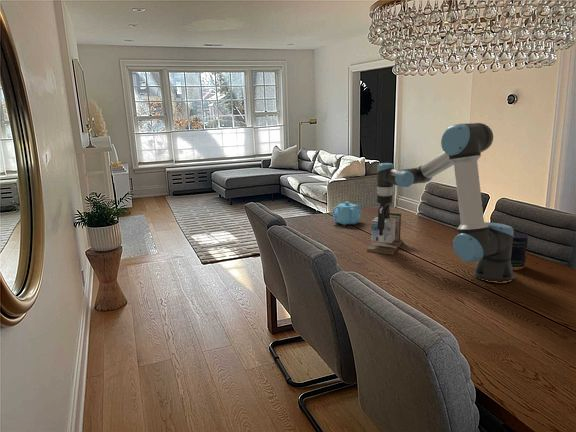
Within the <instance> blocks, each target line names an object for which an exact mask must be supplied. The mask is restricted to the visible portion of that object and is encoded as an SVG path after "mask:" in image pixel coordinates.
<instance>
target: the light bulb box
mask: <svg viewBox="0 0 576 432" xmlns="http://www.w3.org/2000/svg"><path fill="white" fill-rule="evenodd" d="M395 225H396V220H395V219H385V223H384V242H385V243H392V242H393V241H394V240H395ZM377 227H378V217H374V219H372V220H371V238H370V240H371V241H373V242H374V241H378V234H379V229H377ZM378 242H380V241H378Z"/></svg>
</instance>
